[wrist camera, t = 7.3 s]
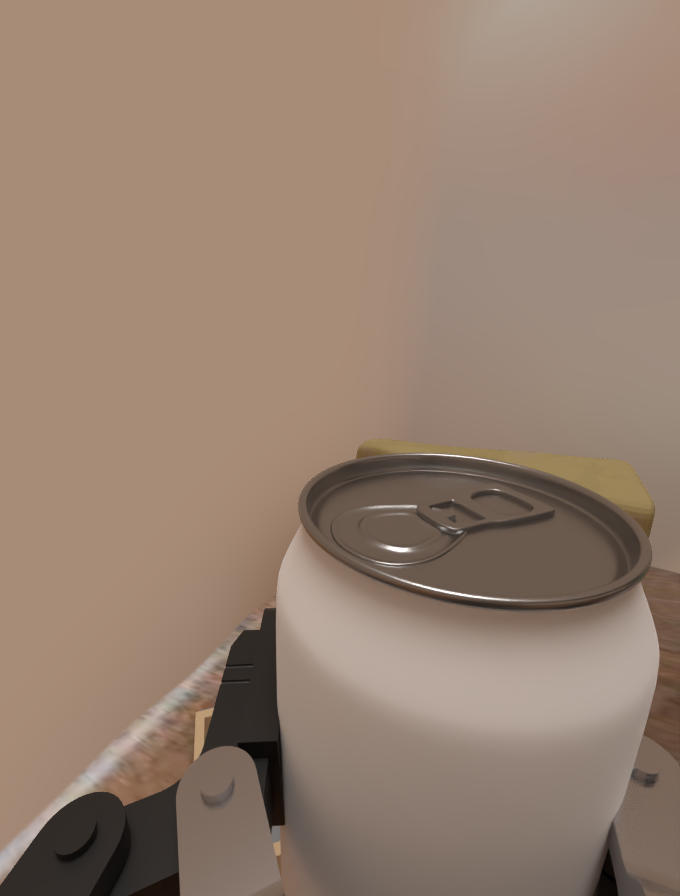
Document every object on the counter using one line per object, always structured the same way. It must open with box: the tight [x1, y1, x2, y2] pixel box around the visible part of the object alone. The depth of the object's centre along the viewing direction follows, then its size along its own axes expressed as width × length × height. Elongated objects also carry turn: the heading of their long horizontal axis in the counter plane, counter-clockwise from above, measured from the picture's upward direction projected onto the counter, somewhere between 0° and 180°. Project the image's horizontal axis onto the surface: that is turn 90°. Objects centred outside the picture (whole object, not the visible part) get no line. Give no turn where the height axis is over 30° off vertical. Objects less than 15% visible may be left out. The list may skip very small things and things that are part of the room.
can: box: [276, 453, 659, 896], centre depth 9 cm, size 6×6×12 cm
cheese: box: [356, 439, 655, 538], centre depth 35 cm, size 22×10×15 cm, turn 66°
